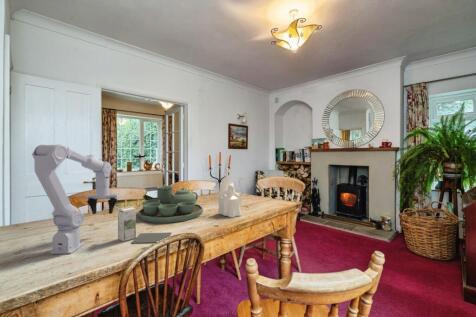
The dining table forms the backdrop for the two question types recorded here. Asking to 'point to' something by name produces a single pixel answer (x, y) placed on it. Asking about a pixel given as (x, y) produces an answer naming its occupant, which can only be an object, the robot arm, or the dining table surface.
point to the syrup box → (126, 223)
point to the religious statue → (229, 197)
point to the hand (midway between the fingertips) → (102, 213)
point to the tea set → (170, 206)
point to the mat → (150, 237)
